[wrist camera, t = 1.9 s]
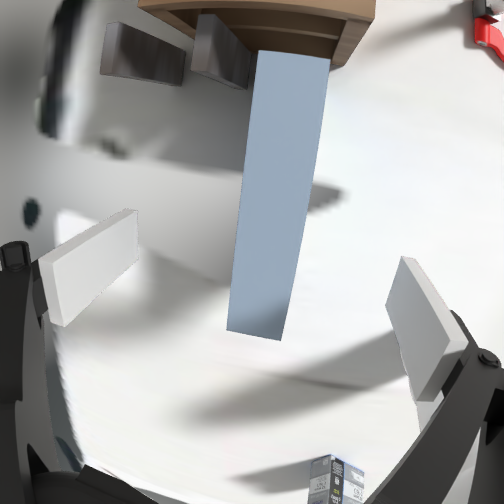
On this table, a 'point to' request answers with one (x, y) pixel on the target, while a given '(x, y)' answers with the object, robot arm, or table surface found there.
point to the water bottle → (461, 487)
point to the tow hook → (488, 24)
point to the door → (275, 189)
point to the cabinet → (234, 36)
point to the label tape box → (335, 482)
